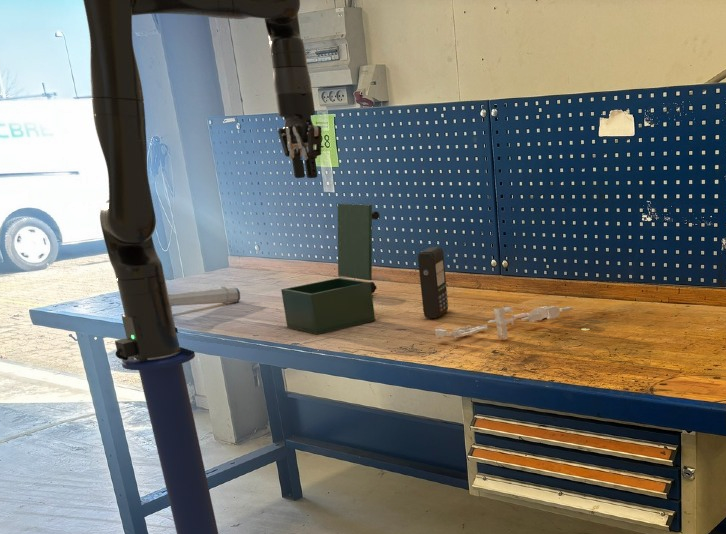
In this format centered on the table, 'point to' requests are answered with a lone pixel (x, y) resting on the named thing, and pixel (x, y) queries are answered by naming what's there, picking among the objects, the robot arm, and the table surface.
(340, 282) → the bin
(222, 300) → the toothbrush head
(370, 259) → the bin lid
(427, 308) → the card reader
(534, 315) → the grey elongated piece
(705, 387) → the table surface
